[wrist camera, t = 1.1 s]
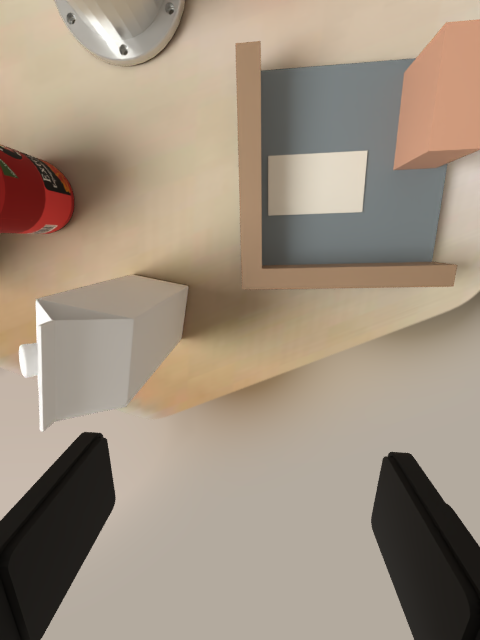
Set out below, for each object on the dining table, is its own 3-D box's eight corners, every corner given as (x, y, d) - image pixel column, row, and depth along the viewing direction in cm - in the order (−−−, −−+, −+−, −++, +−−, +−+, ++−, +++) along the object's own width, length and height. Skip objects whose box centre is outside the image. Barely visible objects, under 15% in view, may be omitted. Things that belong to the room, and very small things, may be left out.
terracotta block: (404, 72, 25) (446, 22, 19) (450, 69, 25) (507, 16, 19) (393, 170, 27) (428, 151, 22) (436, 168, 27) (483, 148, 21)
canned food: (86, 184, 31) (-4, 155, 21) (62, 247, 33) (-30, 250, 23) (24, 146, 30) (-101, 96, 20) (4, 212, 33) (-119, 198, 22)
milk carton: (189, 285, 33) (101, 338, 15) (181, 339, 35) (96, 443, 17) (132, 273, 34) (-23, 312, 15) (128, 328, 36) (-14, 420, 17)
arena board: (240, 79, 27) (235, 43, 22) (455, 62, 26) (502, 19, 21) (245, 282, 33) (241, 289, 28) (422, 279, 31) (453, 286, 26)
